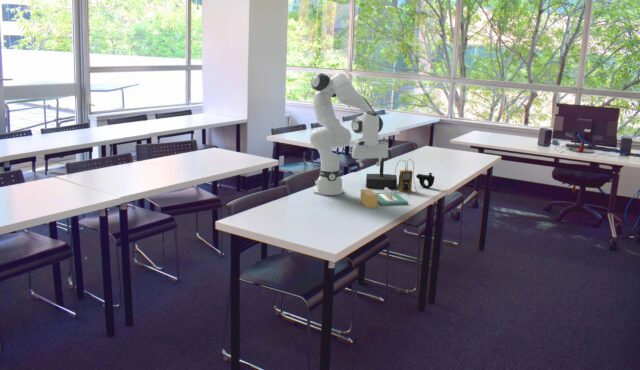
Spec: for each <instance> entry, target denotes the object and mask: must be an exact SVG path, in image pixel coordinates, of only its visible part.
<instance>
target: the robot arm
mask: <svg viewBox="0 0 640 370" xmlns="http://www.w3.org/2000/svg"><path fill="white" fill-rule="evenodd" d="M310 81H311V82H310V84H311V87H312V89H313V90H315V91H316V92H315V93H314V95H313V97H312V98H313V99H312V100H313V109H314V113H315V117H316V121H317V123H318V124H319V125H321V126H322V127H324V128H318V129H315V130H312V131H311V133H310V135H309V142H310V144H311V145H312V146H313V147H314V148H315V149H316V150H317V151H318V153H319V157H320V169H319V177H318V178H317V180H315V181H314V186H313V193H314V194H317V195H318V194H319V195H323V196H337V195H340V194H344V193H345V191H346V190H344V189H343V180H342V177H340V175H341V170H340V160H341V159H340V157H339V155H338V154H337V153H335V152H333V151H332V148H335V147H336V148H337V147H338V148H339V147H345V146H349V144H350V143H351V140H352V133H351V130H349V129H348V128H346V127H345V126H344V125H342V124H341V123H340V121H339V120H338V119H337V116H336V113H335V110H334V107H333V103H332V98H337V100H338V101H339V102H340V103H341V104H342V105H346V106H350V107H353V108H356V109H359V110H360V111H361V112H362V113H363V114H361V115H359V116H355V117H354V118H353V119H352V121H351V129H352V131H353V132H354V133H355V134H362V137H361V138H357V139H355V140H354V141H353V146H352V150H351V158H352V159H354V160H357V161H358V163H359V167H360V168H363V167H364V162H362V160H363V159H378V161H377V162H375V166H376V167H380V162H381V160H382V158H384V159H387V158H388V157H389V150H388V149H389V142H387V141H385V140H384V141H383V140H381V141H380V139H379V138H380V137H379V135H380V134H379V133H380V132H381V131H382V130H383V127H384V121H383V118H381V116H380V115H379V114H378V112H376V111H375V110H374V109H373V106H371V104H370V102H368V100H367V99H366V98H365V97H364V96H363V95H362V94H361V93H359V92H358V91H357V90H356V89H355V87H354V86H353V84H352V82H351V81H350V79H349V78H348V77H347V75H346V74H344V73H341V72H340V73H336V74H334V75H332V74H329V73H324V72H318V73H314V75H313V76H312V78H311V80H310Z"/></svg>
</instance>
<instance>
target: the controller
mask: <svg viewBox="0 0 640 370" xmlns="http://www.w3.org/2000/svg"><path fill="white" fill-rule="evenodd" d="M416 178H417V179H418V181H419V185H420V186H421V187H422V188H424V189H429V188H431V187H432V186H433V185H434V183H435V176H433V172H429V173H428V174H421V173H417V174H416ZM425 181H426V182H427V184H426V183H425Z"/></svg>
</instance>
